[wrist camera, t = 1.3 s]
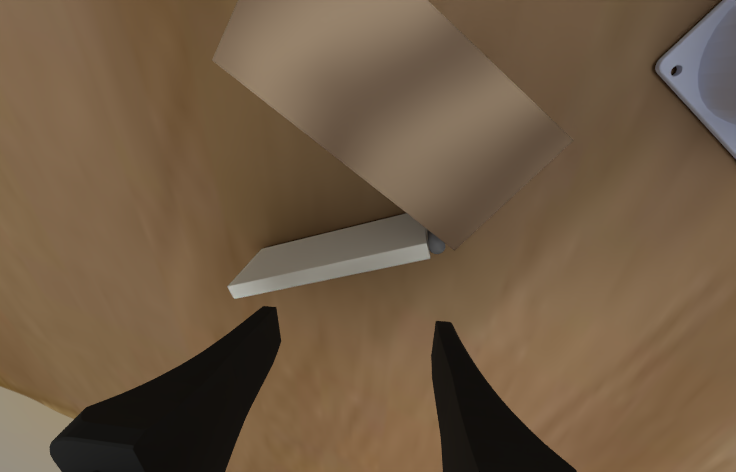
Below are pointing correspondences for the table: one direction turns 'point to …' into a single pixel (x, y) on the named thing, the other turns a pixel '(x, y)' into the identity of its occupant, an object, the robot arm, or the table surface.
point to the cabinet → (396, 102)
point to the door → (337, 255)
